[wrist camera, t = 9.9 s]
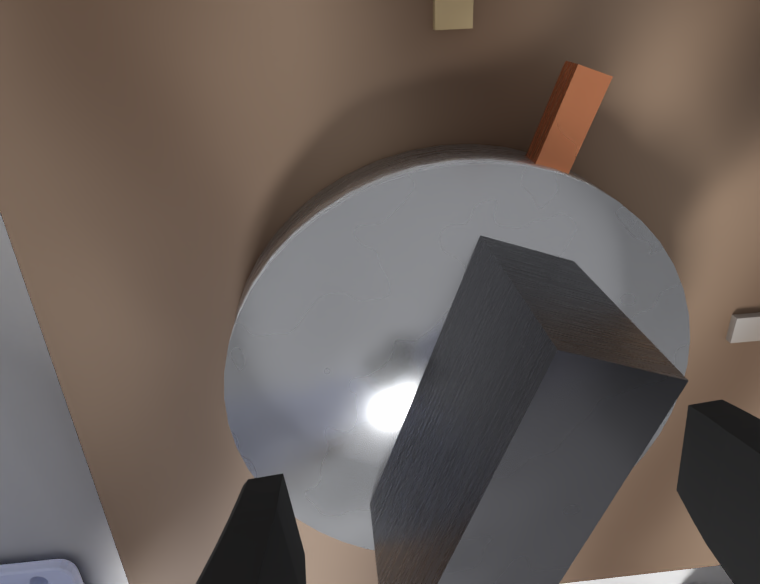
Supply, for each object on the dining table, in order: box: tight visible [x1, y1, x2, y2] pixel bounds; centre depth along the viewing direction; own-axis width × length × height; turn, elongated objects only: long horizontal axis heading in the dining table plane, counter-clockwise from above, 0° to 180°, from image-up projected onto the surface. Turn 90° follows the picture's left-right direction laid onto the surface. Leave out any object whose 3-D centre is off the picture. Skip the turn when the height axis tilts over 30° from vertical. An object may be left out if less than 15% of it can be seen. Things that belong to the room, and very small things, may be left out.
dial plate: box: [0, 0, 760, 584], centre depth 15 cm, size 18×18×2 cm
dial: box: [224, 61, 690, 584], centre depth 11 cm, size 12×10×6 cm
